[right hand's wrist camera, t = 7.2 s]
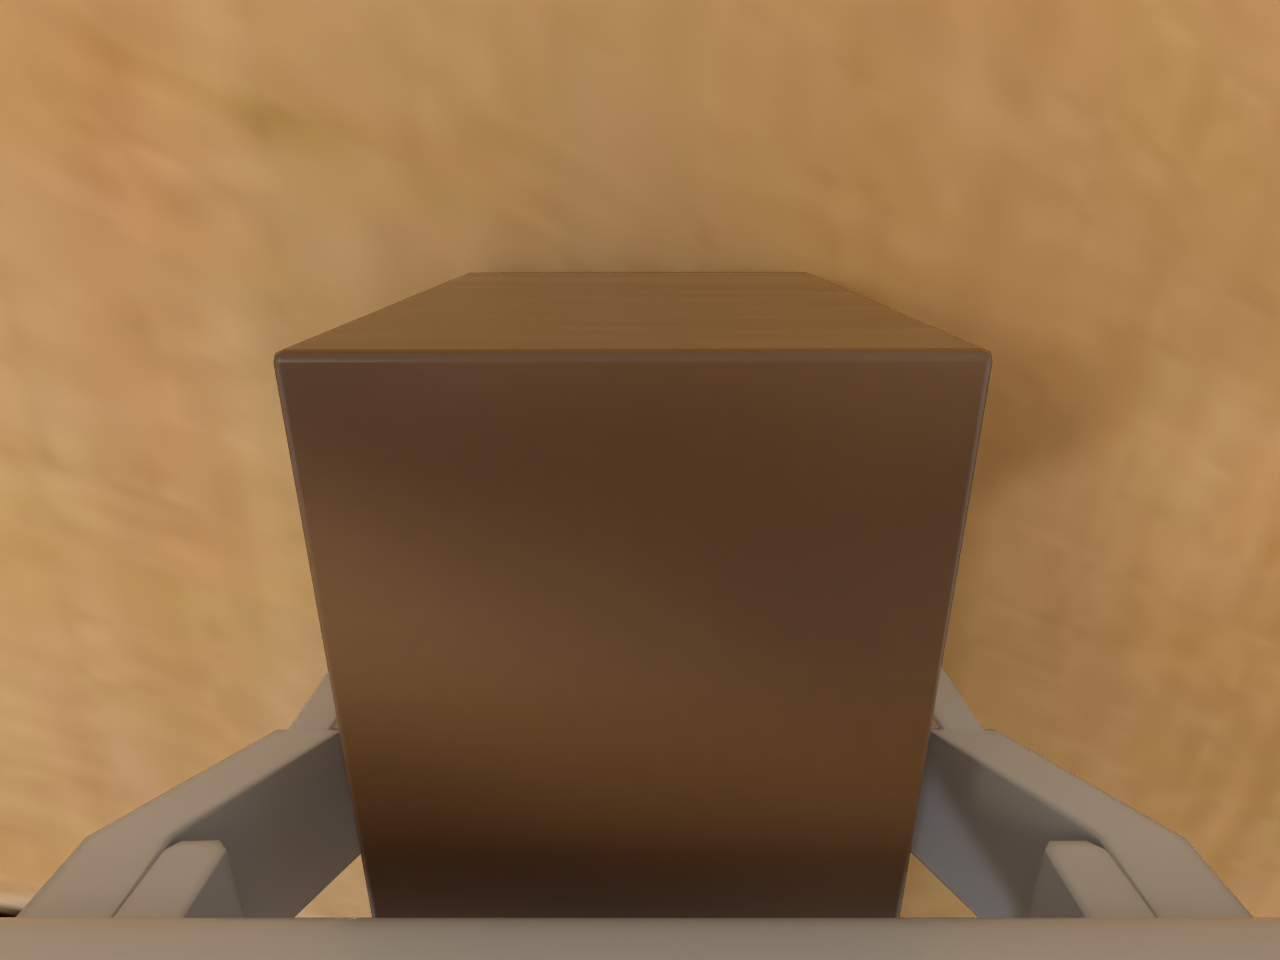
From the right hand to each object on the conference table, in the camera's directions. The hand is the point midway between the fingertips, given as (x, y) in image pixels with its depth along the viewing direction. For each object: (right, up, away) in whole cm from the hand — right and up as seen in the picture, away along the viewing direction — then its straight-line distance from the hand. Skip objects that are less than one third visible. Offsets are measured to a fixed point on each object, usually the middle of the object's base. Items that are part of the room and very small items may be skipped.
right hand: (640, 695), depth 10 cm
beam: (0, -29, +14) cm, 32 cm away
